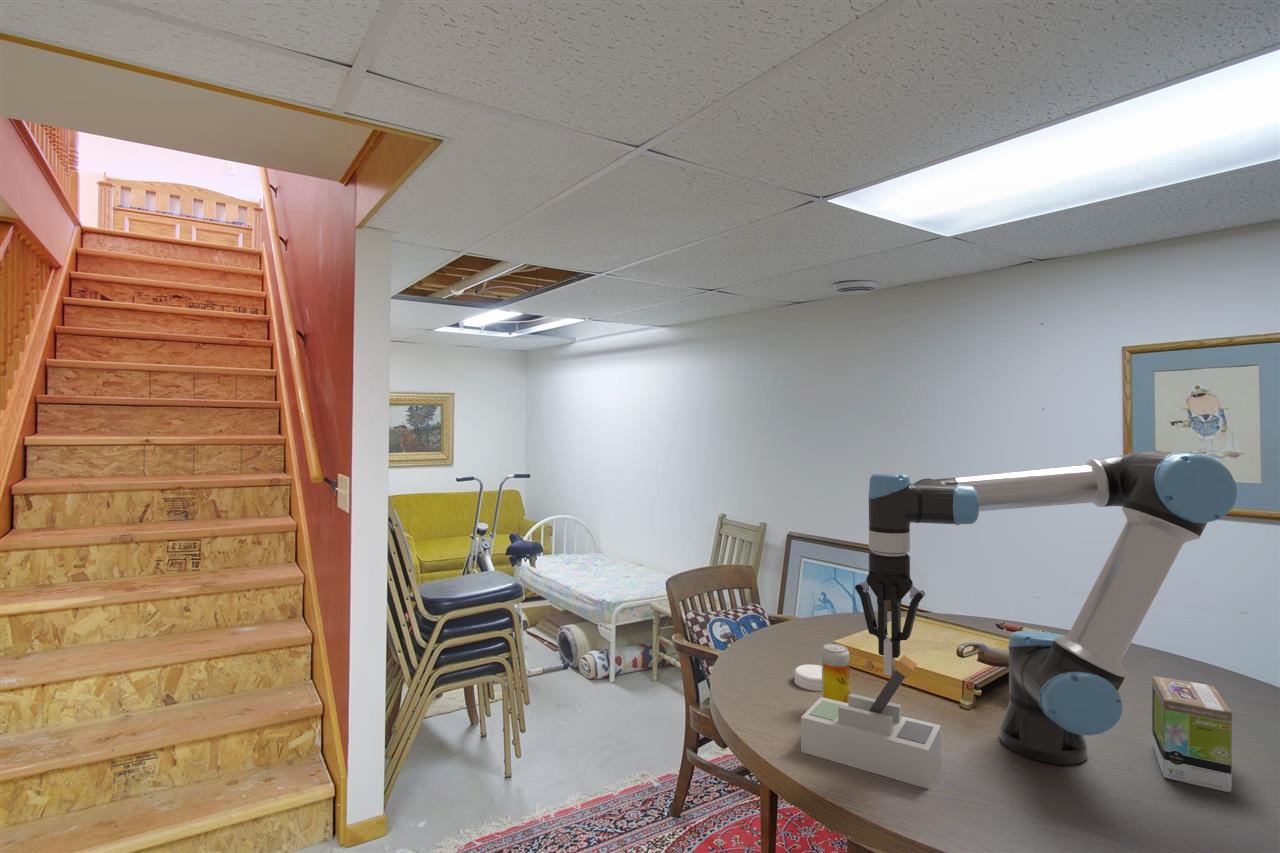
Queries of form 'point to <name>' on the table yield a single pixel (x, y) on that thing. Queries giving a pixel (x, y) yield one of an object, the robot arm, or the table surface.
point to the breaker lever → (893, 683)
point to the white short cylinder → (809, 677)
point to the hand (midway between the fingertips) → (889, 672)
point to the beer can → (835, 672)
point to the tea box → (1192, 733)
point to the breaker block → (872, 739)
